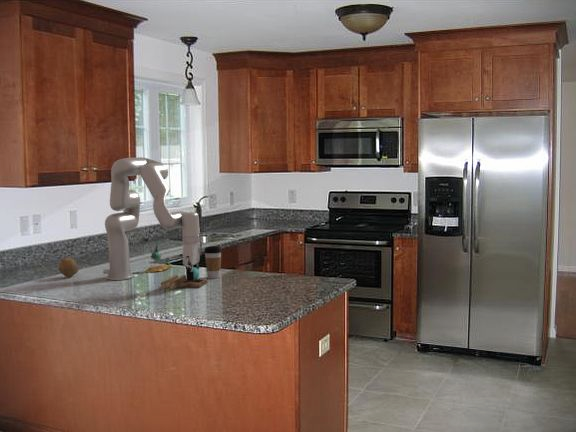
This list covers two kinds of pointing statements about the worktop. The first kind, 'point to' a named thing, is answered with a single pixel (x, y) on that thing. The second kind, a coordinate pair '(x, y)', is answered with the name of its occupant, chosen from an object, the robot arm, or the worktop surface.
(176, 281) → the rail
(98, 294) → the worktop surface
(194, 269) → the ball
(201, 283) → the tray
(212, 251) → the coffee cup
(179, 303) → the worktop surface
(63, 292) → the worktop surface
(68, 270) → the natural sponge
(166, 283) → the rail
